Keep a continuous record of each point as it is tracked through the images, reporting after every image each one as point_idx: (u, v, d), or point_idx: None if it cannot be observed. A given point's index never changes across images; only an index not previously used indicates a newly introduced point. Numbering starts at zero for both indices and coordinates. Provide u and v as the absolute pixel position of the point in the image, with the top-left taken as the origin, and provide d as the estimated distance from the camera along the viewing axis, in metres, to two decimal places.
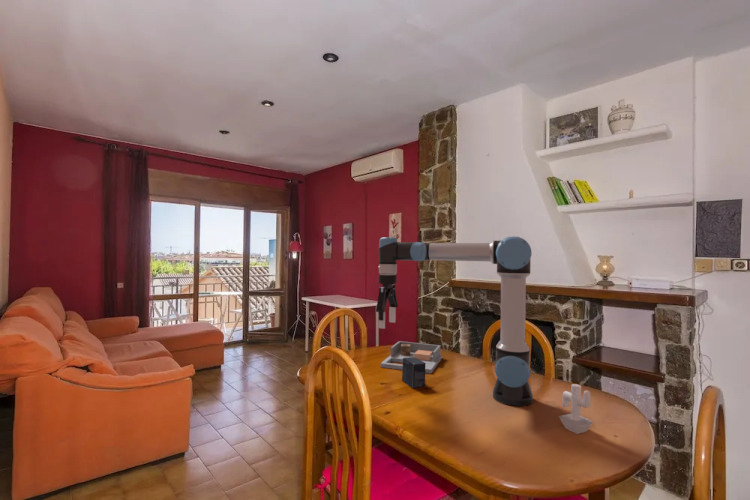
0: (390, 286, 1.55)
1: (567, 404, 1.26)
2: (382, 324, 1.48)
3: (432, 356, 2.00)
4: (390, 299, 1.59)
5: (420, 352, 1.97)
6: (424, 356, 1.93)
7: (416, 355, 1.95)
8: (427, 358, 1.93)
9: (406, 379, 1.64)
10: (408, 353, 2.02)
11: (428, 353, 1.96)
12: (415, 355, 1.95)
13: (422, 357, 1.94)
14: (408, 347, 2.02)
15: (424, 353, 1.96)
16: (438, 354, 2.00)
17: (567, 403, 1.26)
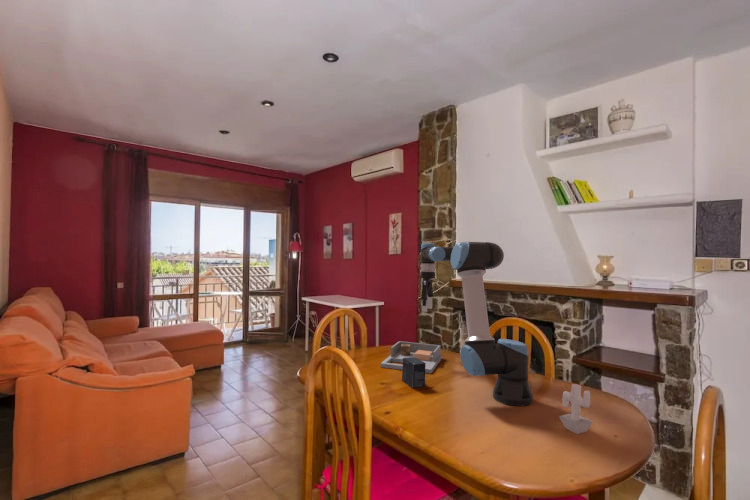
0: (429, 280, 2.05)
1: (567, 404, 1.26)
2: (425, 308, 1.99)
3: (432, 356, 2.00)
4: (428, 290, 2.09)
5: (420, 352, 1.97)
6: (424, 356, 1.93)
7: (416, 355, 1.95)
8: (427, 358, 1.93)
9: (406, 379, 1.64)
10: (408, 353, 2.02)
11: (428, 353, 1.96)
12: (415, 355, 1.95)
13: (422, 357, 1.94)
14: (408, 347, 2.02)
15: (424, 353, 1.96)
16: (438, 354, 2.00)
17: (567, 403, 1.26)
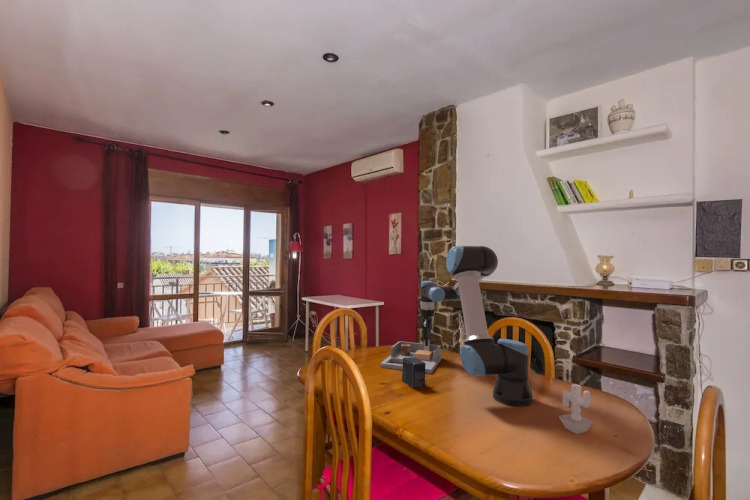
0: (429, 317, 2.05)
1: (567, 404, 1.26)
2: (427, 348, 2.04)
3: (432, 356, 2.00)
4: None
5: (420, 352, 1.97)
6: (424, 356, 1.93)
7: (416, 355, 1.95)
8: (427, 358, 1.93)
9: (406, 379, 1.64)
10: (408, 353, 2.02)
11: (428, 353, 1.96)
12: (415, 355, 1.95)
13: (422, 357, 1.94)
14: (408, 347, 2.02)
15: (424, 353, 1.96)
16: (438, 354, 2.00)
17: (567, 403, 1.26)
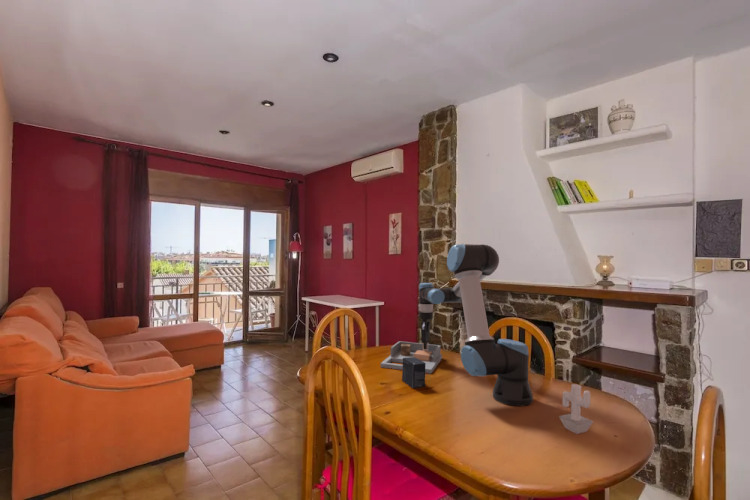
0: (428, 320, 2.01)
1: (567, 404, 1.26)
2: None
3: None
4: None
5: (420, 352, 1.97)
6: (424, 356, 1.93)
7: (416, 355, 1.94)
8: (427, 358, 1.92)
9: (406, 379, 1.64)
10: (408, 353, 2.02)
11: (428, 353, 1.95)
12: (415, 355, 1.94)
13: (422, 358, 1.93)
14: (408, 347, 2.02)
15: (424, 353, 1.95)
16: (438, 354, 2.00)
17: (567, 403, 1.26)
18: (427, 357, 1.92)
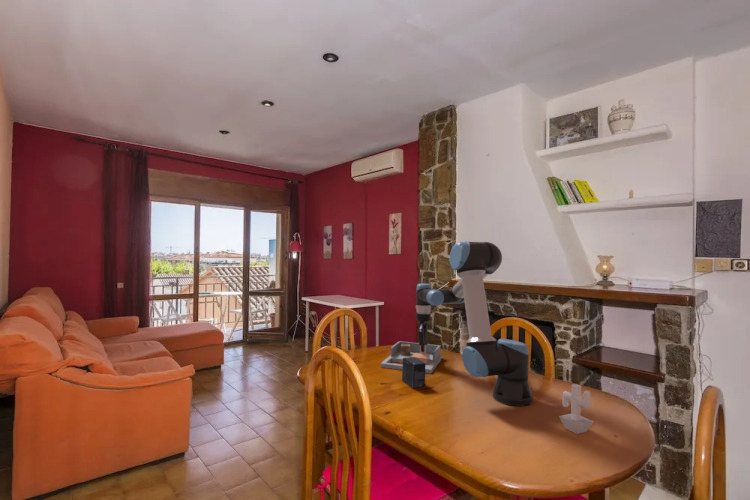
0: (425, 322, 1.96)
1: (567, 404, 1.26)
2: None
3: (429, 359, 1.94)
4: None
5: (417, 355, 1.92)
6: (421, 359, 1.87)
7: None
8: (424, 361, 1.87)
9: (406, 379, 1.64)
10: (408, 353, 2.02)
11: (425, 356, 1.90)
12: None
13: None
14: (408, 347, 2.02)
15: (421, 356, 1.90)
16: (438, 354, 2.00)
17: (567, 403, 1.26)
18: (424, 360, 1.87)
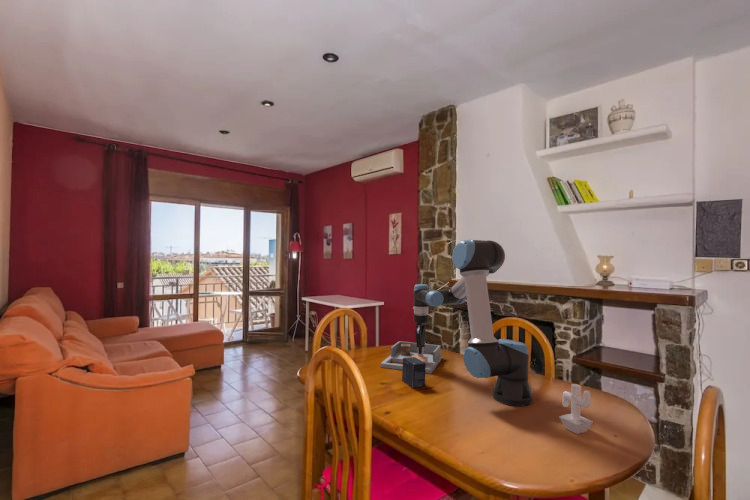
0: (423, 323, 1.91)
1: (567, 404, 1.26)
2: None
3: (427, 362, 1.89)
4: None
5: None
6: None
7: None
8: None
9: (406, 379, 1.64)
10: (408, 353, 2.02)
11: (423, 359, 1.85)
12: None
13: None
14: (408, 347, 2.02)
15: (419, 359, 1.85)
16: (438, 354, 2.00)
17: (567, 403, 1.26)
18: None
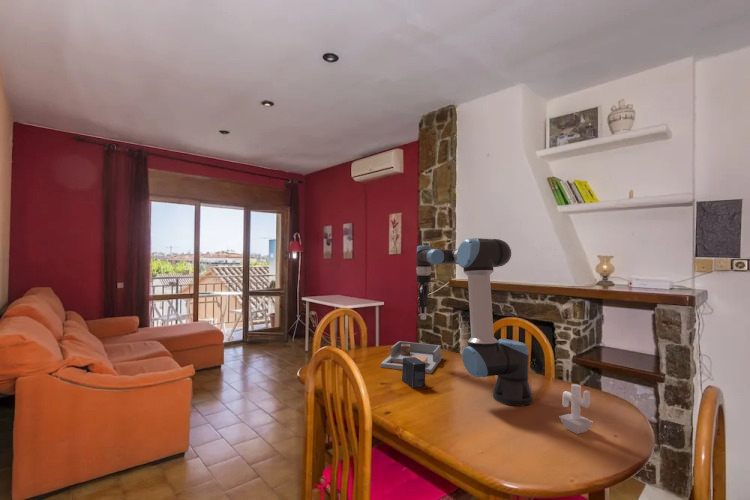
0: (425, 284, 1.96)
1: (567, 404, 1.26)
2: (423, 316, 1.95)
3: (427, 362, 1.89)
4: None
5: None
6: None
7: None
8: None
9: (406, 379, 1.64)
10: (408, 353, 2.02)
11: (423, 359, 1.85)
12: None
13: None
14: (408, 347, 2.02)
15: (419, 359, 1.85)
16: (438, 354, 2.00)
17: (567, 403, 1.26)
18: None
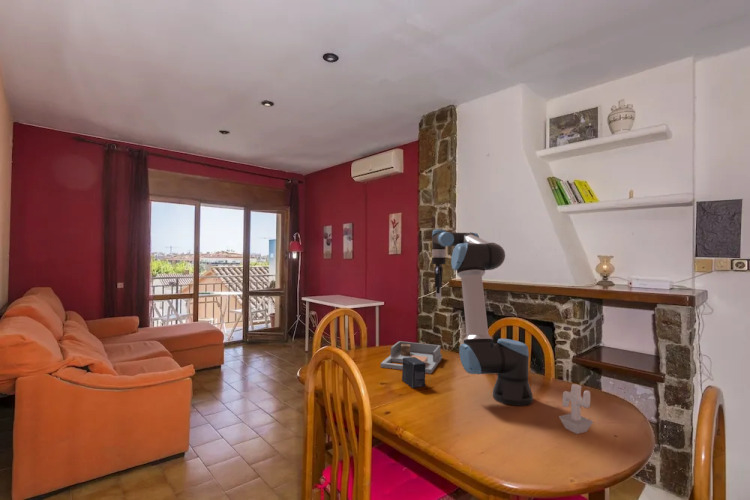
0: (440, 266, 2.08)
1: (567, 404, 1.26)
2: (438, 296, 2.08)
3: (427, 362, 1.89)
4: None
5: None
6: None
7: None
8: None
9: (406, 379, 1.64)
10: (408, 353, 2.02)
11: (423, 359, 1.85)
12: None
13: None
14: (408, 347, 2.02)
15: (419, 359, 1.85)
16: (438, 354, 2.00)
17: (567, 403, 1.26)
18: None
